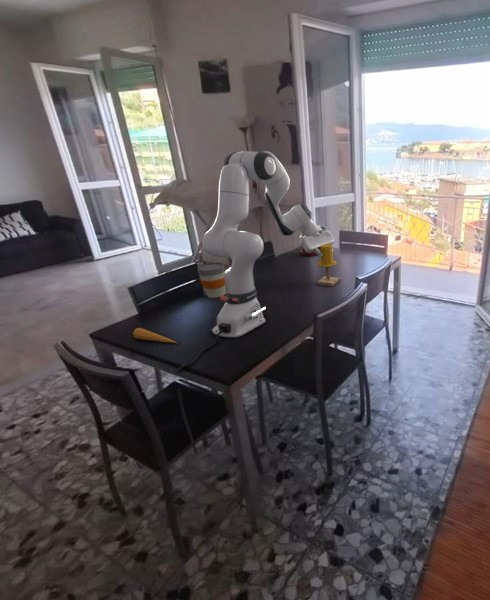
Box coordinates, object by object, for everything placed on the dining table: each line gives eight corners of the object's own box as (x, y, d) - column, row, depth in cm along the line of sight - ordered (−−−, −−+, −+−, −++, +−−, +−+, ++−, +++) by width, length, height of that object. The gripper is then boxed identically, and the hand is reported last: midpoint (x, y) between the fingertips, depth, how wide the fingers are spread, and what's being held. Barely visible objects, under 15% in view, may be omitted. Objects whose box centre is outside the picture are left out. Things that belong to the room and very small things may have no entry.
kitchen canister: (298, 256, 236) (295, 229, 229) (304, 250, 248) (302, 225, 240) (317, 256, 234) (315, 230, 227) (322, 251, 246) (320, 225, 238)
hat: (331, 267, 182) (330, 248, 178) (314, 265, 185) (312, 247, 181) (339, 261, 190) (338, 243, 186) (322, 260, 193) (321, 242, 189)
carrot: (134, 340, 141) (128, 333, 138) (142, 331, 144) (136, 324, 140) (177, 351, 137) (172, 344, 133) (184, 342, 140) (179, 335, 136)
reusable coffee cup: (220, 287, 188) (214, 260, 182) (234, 292, 181) (229, 264, 175) (198, 295, 179) (191, 267, 173) (212, 301, 172) (206, 272, 166)
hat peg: (332, 286, 187) (330, 258, 180) (317, 284, 190) (314, 256, 183) (339, 280, 195) (337, 253, 188) (324, 278, 197) (322, 251, 191)
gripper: (300, 233, 176) (316, 255, 175) (327, 225, 191) (342, 245, 190) (295, 241, 181) (310, 262, 180) (321, 232, 196) (336, 252, 195)
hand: (327, 254), depth 185 cm, fingers closed on hat, 6 cm apart
